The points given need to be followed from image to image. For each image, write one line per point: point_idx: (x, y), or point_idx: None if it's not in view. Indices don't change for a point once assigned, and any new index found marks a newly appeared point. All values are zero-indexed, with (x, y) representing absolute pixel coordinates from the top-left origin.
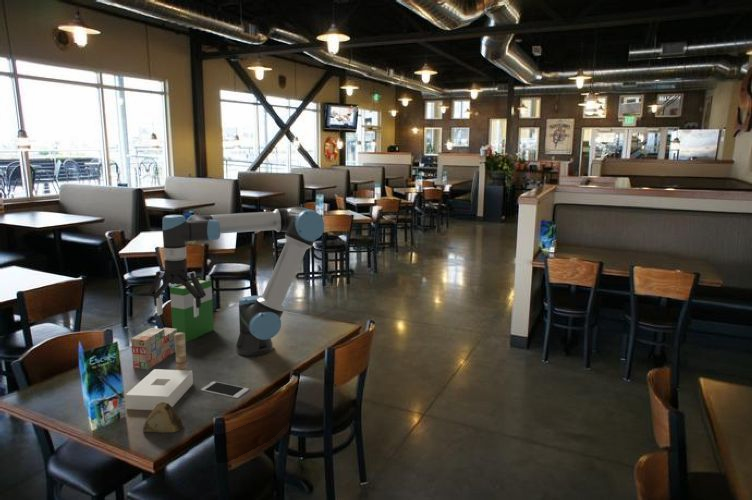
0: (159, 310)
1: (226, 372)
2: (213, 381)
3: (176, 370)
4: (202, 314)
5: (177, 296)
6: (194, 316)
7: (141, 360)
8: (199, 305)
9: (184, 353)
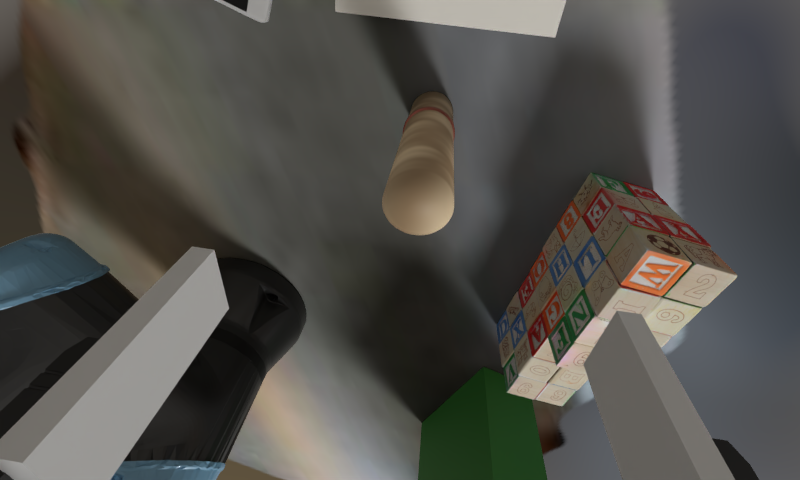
0: (634, 371)
1: (258, 130)
2: (262, 20)
3: (423, 15)
4: (441, 471)
5: None
6: (204, 253)
7: (630, 197)
8: (53, 364)
9: (401, 139)
